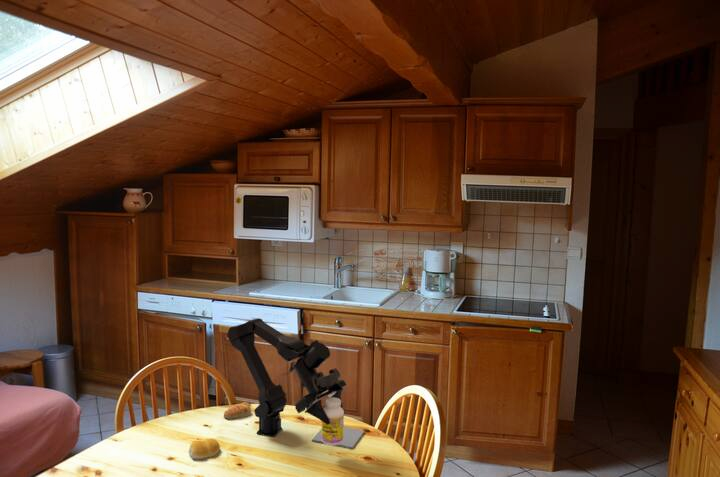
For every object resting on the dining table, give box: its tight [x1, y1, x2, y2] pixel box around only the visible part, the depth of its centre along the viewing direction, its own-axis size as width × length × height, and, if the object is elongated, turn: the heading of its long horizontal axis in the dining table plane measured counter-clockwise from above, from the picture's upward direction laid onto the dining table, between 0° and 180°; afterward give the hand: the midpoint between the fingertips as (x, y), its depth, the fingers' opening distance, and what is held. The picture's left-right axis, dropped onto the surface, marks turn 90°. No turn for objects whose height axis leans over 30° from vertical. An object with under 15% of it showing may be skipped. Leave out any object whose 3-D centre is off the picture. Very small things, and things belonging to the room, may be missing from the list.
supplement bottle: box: [321, 397, 345, 446], centre depth 157 cm, size 7×7×13 cm
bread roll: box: [188, 438, 220, 460], centre depth 160 cm, size 8×9×4 cm
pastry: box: [223, 401, 252, 420], centre depth 186 cm, size 9×7×4 cm
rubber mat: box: [311, 426, 366, 450], centre depth 171 cm, size 14×12×1 cm
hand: (336, 419), depth 156 cm, fingers closed on supplement bottle, 7 cm apart
